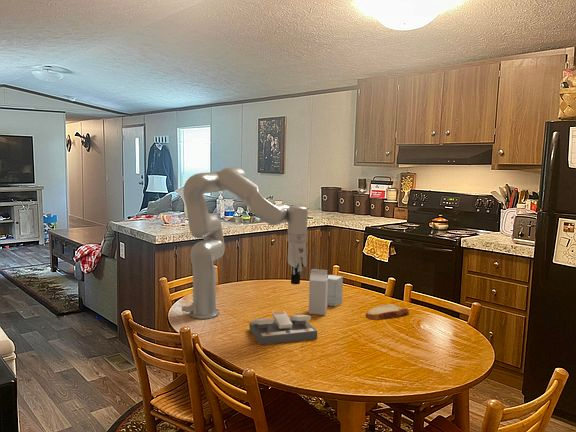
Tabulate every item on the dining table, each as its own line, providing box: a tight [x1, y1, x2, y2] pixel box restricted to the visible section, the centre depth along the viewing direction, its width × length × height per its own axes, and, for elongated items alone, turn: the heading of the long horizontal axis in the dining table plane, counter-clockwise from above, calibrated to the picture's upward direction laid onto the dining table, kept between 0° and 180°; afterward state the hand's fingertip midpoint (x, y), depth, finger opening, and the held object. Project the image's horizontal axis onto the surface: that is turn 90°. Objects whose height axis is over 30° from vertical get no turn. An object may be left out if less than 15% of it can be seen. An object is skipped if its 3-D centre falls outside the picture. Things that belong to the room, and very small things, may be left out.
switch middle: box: [271, 310, 292, 329], centre depth 186 cm, size 5×10×2 cm, turn 18°
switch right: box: [289, 313, 312, 321], centre depth 188 cm, size 5×10×2 cm, turn 18°
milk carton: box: [308, 268, 329, 316], centre depth 211 cm, size 7×7×19 cm
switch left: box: [252, 317, 274, 325], centre depth 183 cm, size 5×10×2 cm, turn 18°
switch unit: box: [248, 319, 318, 346], centre depth 185 cm, size 22×16×4 cm
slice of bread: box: [365, 303, 410, 321], centre depth 211 cm, size 18×18×4 cm
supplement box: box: [327, 274, 344, 307], centre depth 225 cm, size 7×7×13 cm
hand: (295, 283), depth 191 cm, fingers closed
